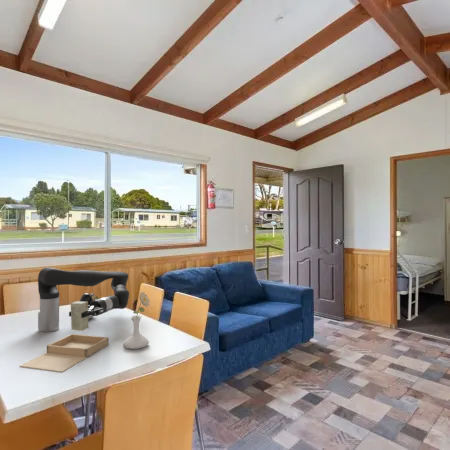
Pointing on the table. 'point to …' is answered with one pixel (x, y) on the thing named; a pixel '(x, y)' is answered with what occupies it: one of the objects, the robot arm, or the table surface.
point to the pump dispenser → (87, 300)
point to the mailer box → (67, 352)
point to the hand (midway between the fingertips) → (75, 314)
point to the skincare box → (79, 316)
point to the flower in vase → (136, 338)
